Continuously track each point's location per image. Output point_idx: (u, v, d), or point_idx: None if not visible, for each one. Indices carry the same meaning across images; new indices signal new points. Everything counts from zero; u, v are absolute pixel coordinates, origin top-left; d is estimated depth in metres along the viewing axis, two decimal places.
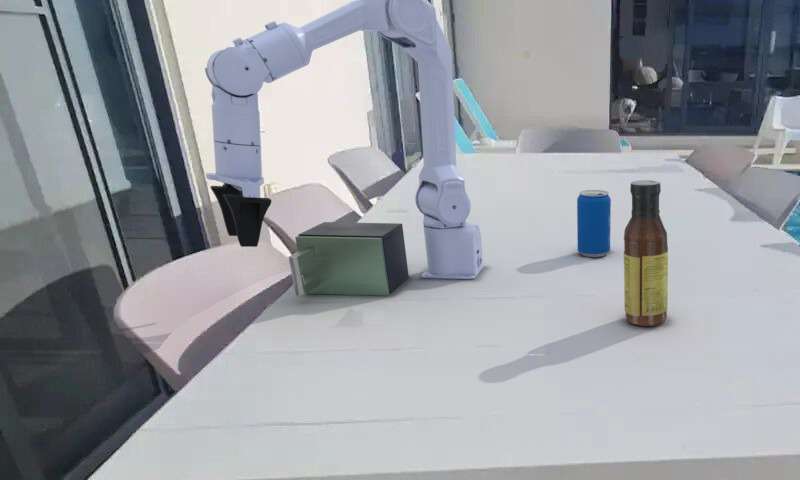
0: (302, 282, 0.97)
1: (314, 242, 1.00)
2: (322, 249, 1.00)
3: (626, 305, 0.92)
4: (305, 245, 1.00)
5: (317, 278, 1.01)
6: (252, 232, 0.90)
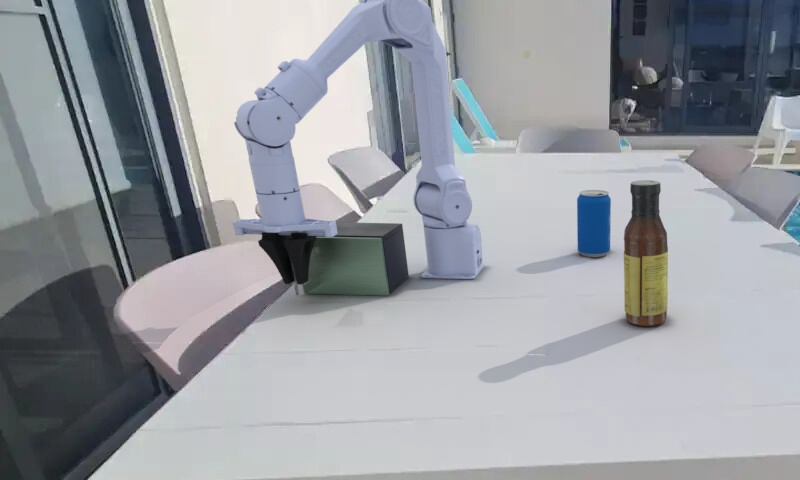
0: None
1: None
2: (322, 249, 1.00)
3: (626, 305, 0.92)
4: None
5: (317, 278, 1.01)
6: (305, 268, 0.96)
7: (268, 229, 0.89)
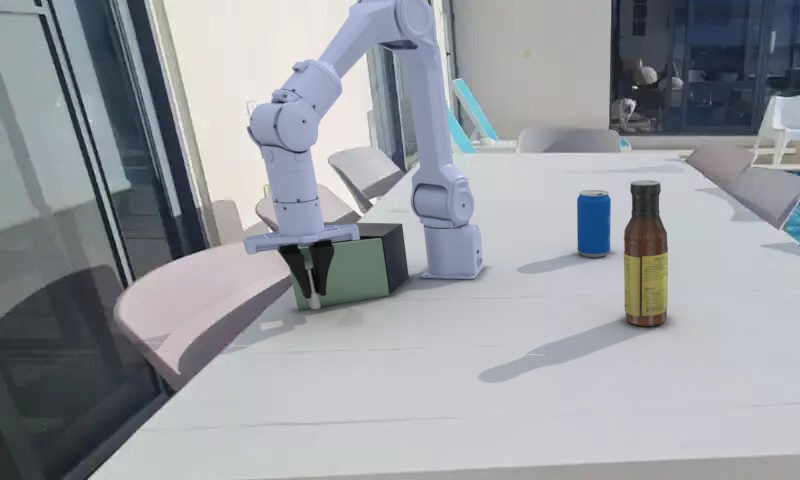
0: (318, 294, 0.92)
1: (309, 252, 0.94)
2: None
3: (626, 305, 0.92)
4: None
5: None
6: None
7: (308, 239, 0.84)
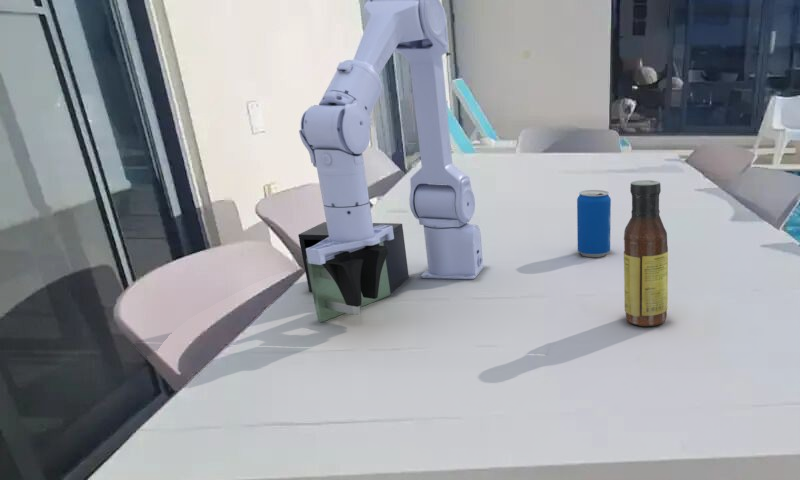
0: None
1: None
2: None
3: (626, 305, 0.92)
4: (320, 266, 0.90)
5: None
6: None
7: (375, 241, 0.84)
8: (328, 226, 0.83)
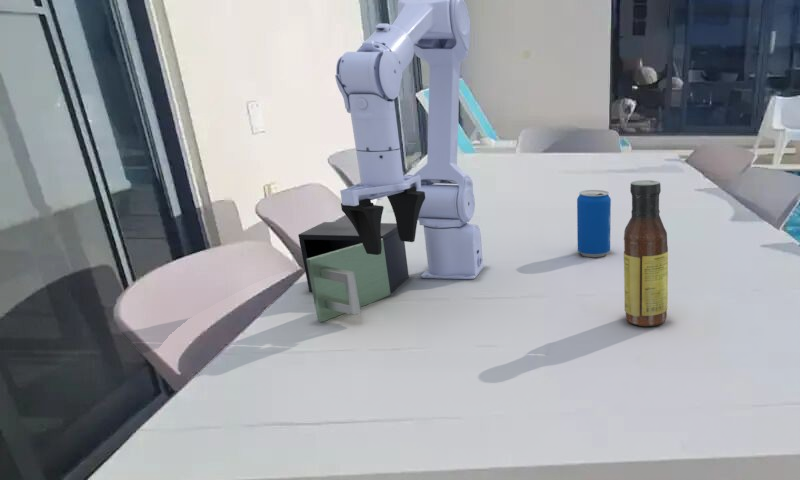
0: (357, 298, 0.90)
1: (328, 259, 0.91)
2: (335, 265, 0.92)
3: (626, 305, 0.92)
4: (320, 266, 0.90)
5: None
6: None
7: (405, 186, 0.87)
8: (360, 171, 0.86)
